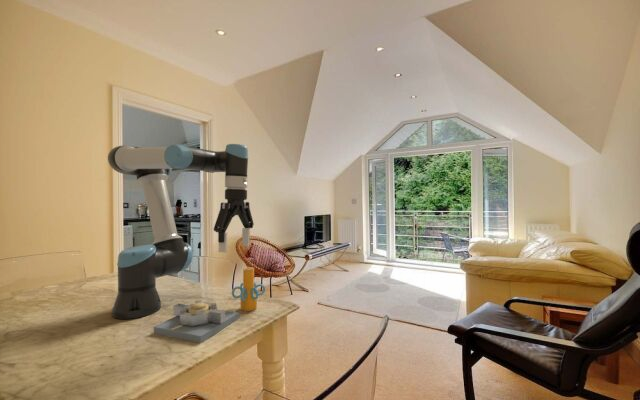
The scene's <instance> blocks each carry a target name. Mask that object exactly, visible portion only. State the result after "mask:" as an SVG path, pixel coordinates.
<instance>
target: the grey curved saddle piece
mask: <svg viewBox="0 0 640 400" xmlns="http://www.w3.org/2000/svg"><path fill="white" fill-rule="evenodd" d="M196 303H206V304H208V305H209V310H208V311H206V312H203V310H196V314H191V313H189V307H190V306H192V305H193V304H196ZM217 309H218V305H217V302H207V301H205V302H204V301H203V302H202V300H201V299H199V300H195V301H194V303H191V304H185V303H177V304H175V305H173V316H174V317H175V316H180V324H183V325H188V326H196V325H201V324H207V323H209V322H214V323H219V324H221V323H223V322H224V321H225V311H226V310H225V311H223V310H224V309H219V310H217Z"/></svg>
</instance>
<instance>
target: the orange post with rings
mask: <svg viewBox="0 0 640 400" xmlns="http://www.w3.org/2000/svg"><path fill="white" fill-rule="evenodd" d="M242 274H243V275H242V282H241V283H240V286H235V287H234V288H233V289H232V290H231V296H232V297H233V298H235V299H239V298H240V310H241V311H244V312H250V311H254V310H256V309H257V308H258V298H259V296H262V295H264V293H265V292H266V288H265V287H266V286H265V285H264V284H261V283H258V284H257V283H256V282H255V267H252V266H247V267H243V269H242ZM258 287H262V291H261V292H260V293H259V290H258V289H257V288H258ZM237 289H239V290H240V294H239V295H235V290H237Z"/></svg>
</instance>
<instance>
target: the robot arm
mask: <svg viewBox="0 0 640 400" xmlns="http://www.w3.org/2000/svg"><path fill="white" fill-rule="evenodd" d="M248 161H249V154H248V147H247V146H246V145H244V144H240V143H239V144H238V143H228V144H227V145H225V149H224V150H223V151H222V150H221V151H217V150H216V151H214V150H208V149H203V148H199V147H198V148H197V147H192V146H188V145H184V144H175V143H171V144H169V146H161V147H160V146H159V147H156V146H155V147H138V146H134V145H133V146H132V145H119V146H115V147H113V148H111V149H110V151H109V153H108V155H107V162H108V165H109V166H110V168H111V169H113V170H114V171H116V173H120V174H122V175H127V176H136V180H137V183H138V184H140V185H142V188H143V192H144V197H145V202H146V207H147V211H148V214H149V215H148V216H149V219H150V220H149V221H150V224H151V225H150V226H151V229H152V234H153V237H154V238H153V239H154V241H153V242H152V243H151V244H141V245H136V246H131V247H128V248H125V249H122V250H121V251H120V252H119V254H118V256H117V263H116V265H117V294H116V295H117V296H116V298H115V301H114V304H113V307H112V309H111V311H112V312H111V317H112V318H114V319H116V320H117V319H118V320H131V319H138V318H142V317H146V316H149V315H152V314H154V313H156V312H158V311H159V310H161V308H162V301H161V299H160V295H159V293H158V290H157V287H156V286H157V285H156V284H157V283H156V281H157V280H156V279H157V278H160V277H161V278H162V277H165V276H170V275H172V274H178V273H180V272H184V271H186V270H187V269H188V268H189V267H190V265H191V264H192V261H193V257H194V255H193V249H192V246H191V245H190V244H189V243H187V242H184V238H183V237H182V236H181V235H179V234H178V230H177V226H176V221H175V216H174V213H173V209H172V203H171V200H170V195H169V191H168V187H167V183H166V182H167V180H168V179H169V175H170V174H171V172H172V170H173V169H174V170H191V171H202V172H204V173H212V174H213V173H225V175H224V187H225V190H224V200H226V201H227V202H220V207H219V208H220V209H219V211H218V214H217V218H216V221H215V223H214V227H213V231H214V232H215V233H218V234H217V235H218V237H217V239H218V240H217V241H218V252H219V253H227V252H228V232H227V230H228V227H229V226H230V224H231V221H232V219H233V218H234V217H236V216H237V217H238V218H239V220H240V222H241V224H242V230H241V231H242V233H241V234H242V235H241V236H242V237H241V240H242V242H241V246H243V247H244V246H245V247H246V246H247V247H249V246H250V237H251V236H250V235H251V233H250V232H251V229H253V227H254V225H255V224H254V220H253V216H252V213H251V208H250V202H249V201H246V200H247V199H248V190H247V188H248V166H249V165H248V164H249V163H248Z"/></svg>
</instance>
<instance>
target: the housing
mask: <svg viewBox="0 0 640 400" xmlns="http://www.w3.org/2000/svg"><path fill="white" fill-rule="evenodd" d="M192 304H193V305H192V306H190V307H189V313H191V314H196V310H203V312H206V311H208V310H209V305H208V304H206V303H203V302H201V303H196V304H195V303H192ZM217 310H220V309H219V308H217ZM222 310H223V311H225V321H224V322H223V323H221V324H219V323H214V322H209V323H207V324H201V325H196V326H188V325H183V324H180V316H174V317H172V318H170V319H167V320H165V321H163V322H160V323H159V324H157V325H154V326H153V334H155V335H161V336H165V337H170V338H174V339H180V340H183V341H189V342H195V343H196V344H197V343H198V344H202V343H204V342H206V341H207V340H208V339H210V338H212V337H213V336H214V335H216V334H217V333H219V332H220V331H222V330H224V329H225V328H226V327H228V326H230V325H231V324H232V323H234V322H235V321H237V320H239V319H240V312H237V311H230V310H224V309H222Z"/></svg>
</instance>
